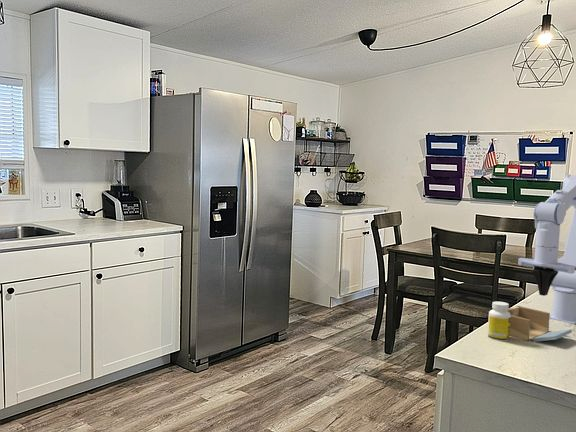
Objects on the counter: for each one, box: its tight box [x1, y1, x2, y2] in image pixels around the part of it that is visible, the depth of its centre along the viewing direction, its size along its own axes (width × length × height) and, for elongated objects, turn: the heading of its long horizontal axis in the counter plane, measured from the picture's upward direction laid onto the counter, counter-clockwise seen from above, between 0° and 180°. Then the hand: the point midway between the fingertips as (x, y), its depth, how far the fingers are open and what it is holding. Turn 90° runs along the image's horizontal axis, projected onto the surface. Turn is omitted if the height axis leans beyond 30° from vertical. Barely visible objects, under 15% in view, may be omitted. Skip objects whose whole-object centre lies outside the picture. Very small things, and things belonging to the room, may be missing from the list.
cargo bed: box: [507, 305, 552, 343], centre depth 143 cm, size 12×10×6 cm
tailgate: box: [533, 329, 573, 342], centre depth 137 cm, size 9×1×6 cm
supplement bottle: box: [486, 301, 511, 342], centre depth 138 cm, size 5×5×10 cm
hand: (543, 294), depth 145 cm, fingers closed
